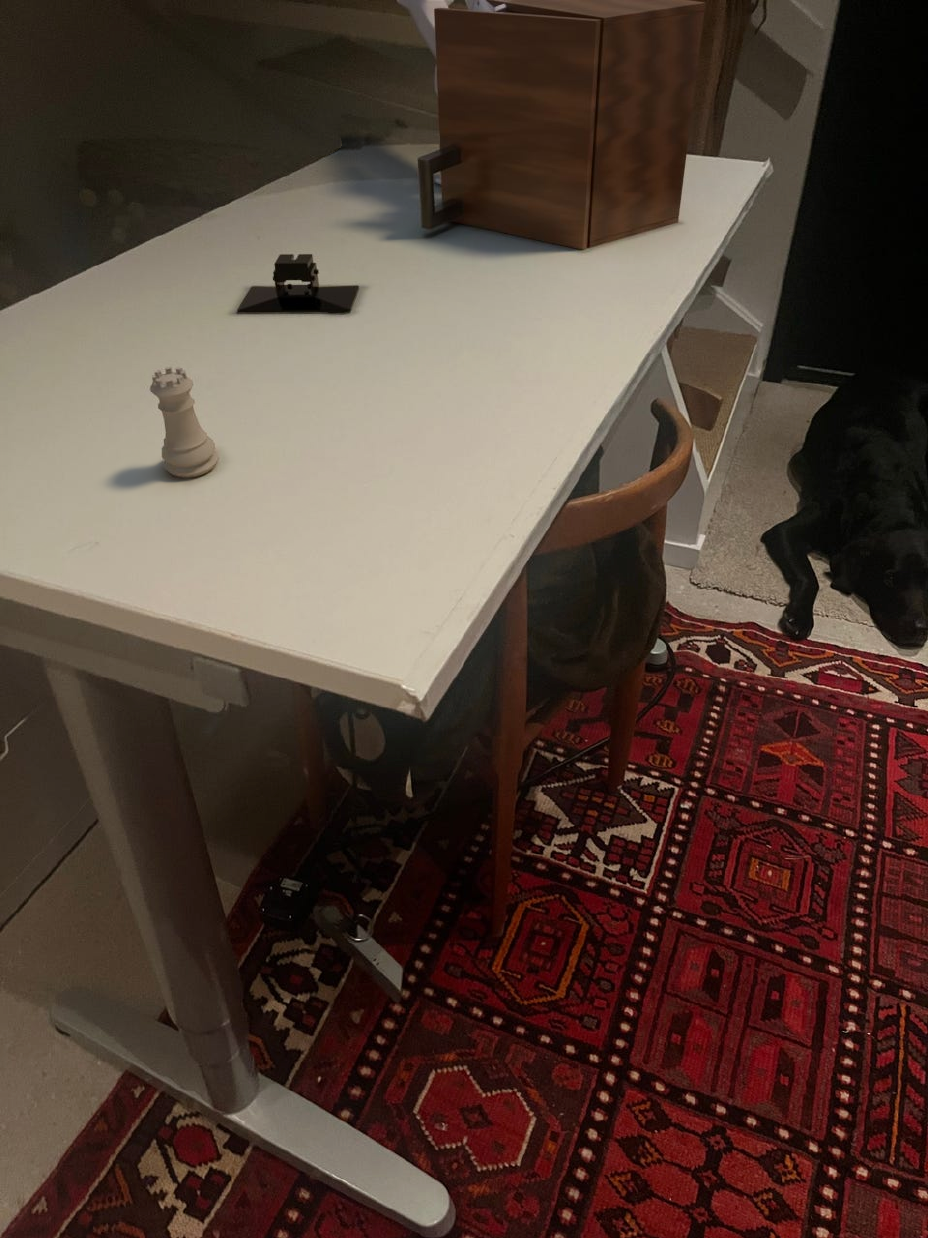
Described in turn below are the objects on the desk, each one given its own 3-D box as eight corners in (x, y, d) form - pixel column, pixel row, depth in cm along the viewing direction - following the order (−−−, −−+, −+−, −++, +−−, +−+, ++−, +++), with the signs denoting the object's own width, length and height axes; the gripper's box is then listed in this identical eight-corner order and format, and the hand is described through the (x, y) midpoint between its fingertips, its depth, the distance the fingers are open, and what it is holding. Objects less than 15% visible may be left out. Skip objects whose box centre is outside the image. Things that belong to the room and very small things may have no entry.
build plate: (359, 289, 102) (355, 247, 98) (350, 315, 96) (345, 271, 93) (252, 288, 102) (244, 246, 99) (236, 314, 97) (228, 271, 94)
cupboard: (589, 248, 109) (604, 17, 94) (485, 206, 123) (483, -2, 107) (678, 222, 115) (705, 2, 100) (570, 185, 129) (579, -14, 113)
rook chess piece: (169, 452, 75) (144, 363, 70) (223, 449, 75) (202, 359, 70) (160, 481, 72) (133, 389, 66) (216, 477, 72) (194, 385, 66)
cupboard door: (552, 267, 104) (560, 30, 89) (409, 234, 114) (395, 16, 99) (587, 247, 109) (601, 19, 94) (447, 217, 119) (439, 7, 104)
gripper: (431, -1, 106) (464, 84, 103) (548, -45, 105) (584, 39, 101) (442, 50, 113) (473, 132, 109) (551, 9, 112) (586, 89, 108)
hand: (527, 90), depth 106 cm, fingers open, 6 cm apart
